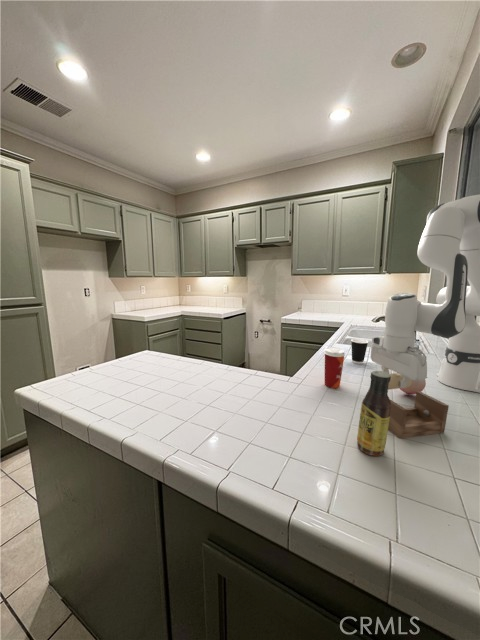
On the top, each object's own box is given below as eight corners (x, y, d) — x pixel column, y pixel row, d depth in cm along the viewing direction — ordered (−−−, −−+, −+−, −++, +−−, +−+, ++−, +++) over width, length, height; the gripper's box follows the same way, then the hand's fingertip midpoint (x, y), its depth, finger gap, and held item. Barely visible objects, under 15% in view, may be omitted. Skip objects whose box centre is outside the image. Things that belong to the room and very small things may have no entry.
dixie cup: (369, 363, 130) (372, 341, 128) (359, 365, 126) (362, 343, 124) (355, 358, 137) (357, 338, 135) (345, 361, 132) (347, 339, 131)
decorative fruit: (397, 398, 93) (400, 370, 91) (392, 388, 101) (395, 363, 99) (428, 402, 90) (432, 374, 89) (420, 392, 98) (424, 366, 96)
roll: (399, 383, 93) (400, 370, 92) (411, 389, 88) (413, 375, 87) (376, 386, 91) (377, 372, 90) (387, 392, 86) (388, 378, 85)
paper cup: (344, 390, 99) (347, 354, 96) (322, 388, 100) (325, 352, 98) (340, 382, 106) (343, 348, 104) (320, 380, 108) (323, 346, 105)
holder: (416, 415, 81) (419, 391, 80) (444, 432, 73) (448, 405, 71) (375, 420, 78) (378, 394, 77) (399, 438, 70) (403, 410, 68)
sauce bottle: (351, 441, 68) (359, 367, 64) (374, 441, 68) (383, 367, 65) (365, 459, 61) (374, 378, 58) (391, 458, 62) (401, 377, 59)
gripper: (435, 351, 77) (430, 395, 80) (383, 335, 97) (380, 371, 100) (417, 353, 76) (412, 398, 79) (368, 336, 96) (365, 373, 98)
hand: (394, 383), depth 89 cm, fingers closed on roll, 5 cm apart
